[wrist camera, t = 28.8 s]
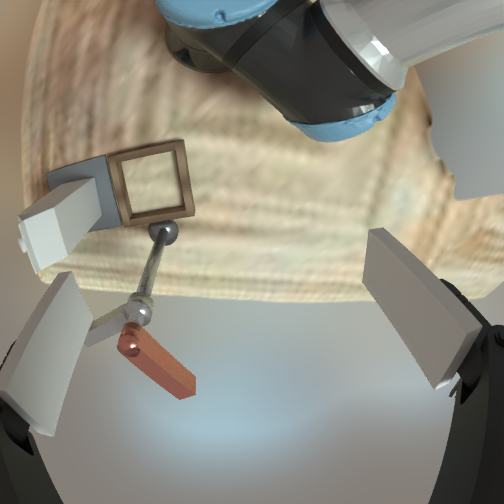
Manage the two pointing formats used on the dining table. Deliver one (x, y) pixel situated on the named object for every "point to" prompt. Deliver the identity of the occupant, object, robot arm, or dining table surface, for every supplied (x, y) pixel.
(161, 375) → the signpost
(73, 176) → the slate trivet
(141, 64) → the dining table surface
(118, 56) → the dining table surface
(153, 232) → the base
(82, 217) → the milk carton
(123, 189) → the frame
